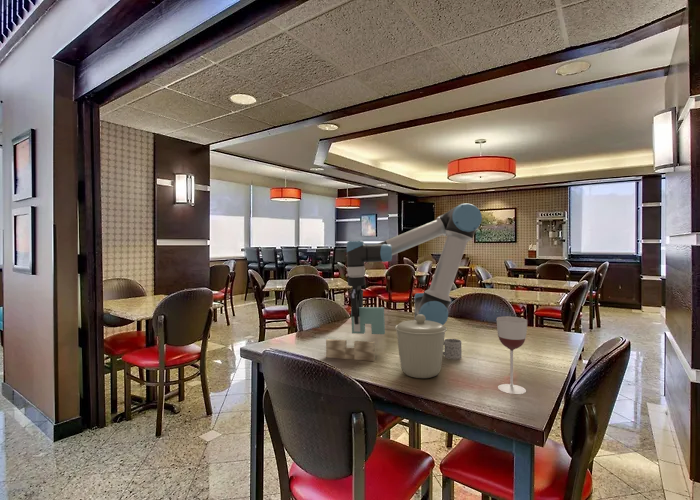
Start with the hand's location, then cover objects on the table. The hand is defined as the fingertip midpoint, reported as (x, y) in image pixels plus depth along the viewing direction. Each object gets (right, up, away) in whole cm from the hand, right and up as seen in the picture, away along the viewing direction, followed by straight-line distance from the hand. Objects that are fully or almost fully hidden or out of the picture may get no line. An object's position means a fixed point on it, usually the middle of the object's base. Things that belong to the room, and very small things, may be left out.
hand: (358, 330), depth 164 cm
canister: (+21, -9, -30) cm, 38 cm away
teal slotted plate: (+4, -1, -1) cm, 5 cm away
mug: (+36, -9, -10) cm, 39 cm away
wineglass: (+47, -9, -45) cm, 66 cm away
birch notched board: (-3, -9, -11) cm, 15 cm away
